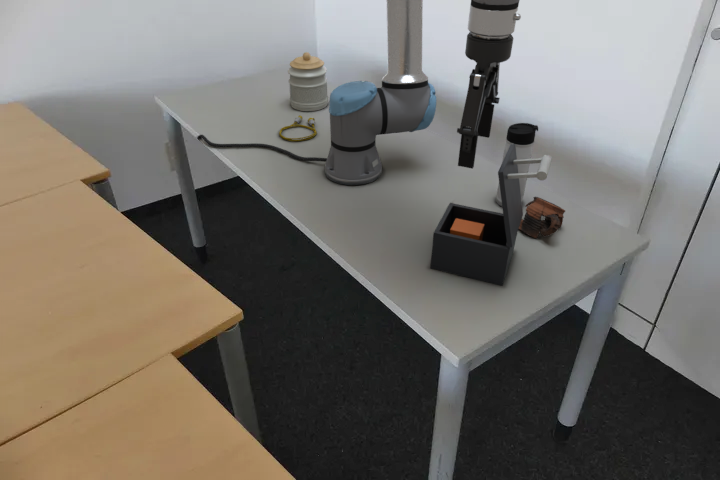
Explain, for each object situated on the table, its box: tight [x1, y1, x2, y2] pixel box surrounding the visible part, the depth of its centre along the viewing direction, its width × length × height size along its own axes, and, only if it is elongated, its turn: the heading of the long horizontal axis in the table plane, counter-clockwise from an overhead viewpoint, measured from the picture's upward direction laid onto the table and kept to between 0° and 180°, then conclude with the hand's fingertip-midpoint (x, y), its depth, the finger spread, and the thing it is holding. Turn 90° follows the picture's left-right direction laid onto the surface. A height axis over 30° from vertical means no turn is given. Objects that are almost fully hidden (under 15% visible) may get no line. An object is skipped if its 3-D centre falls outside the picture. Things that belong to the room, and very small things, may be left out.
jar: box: [287, 51, 329, 112], centre depth 181 cm, size 13×13×18 cm
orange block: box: [450, 218, 485, 241], centre depth 112 cm, size 6×5×7 cm
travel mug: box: [495, 122, 539, 207], centre depth 127 cm, size 6×7×20 cm
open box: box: [430, 202, 518, 287], centre depth 111 cm, size 15×12×9 cm
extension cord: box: [278, 115, 318, 142], centre depth 167 cm, size 12×16×2 cm
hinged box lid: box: [497, 144, 553, 247], centre depth 101 cm, size 16×12×8 cm
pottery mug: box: [518, 196, 566, 239], centre depth 121 cm, size 12×10×8 cm
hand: (474, 150), depth 102 cm, fingers open, 13 cm apart
